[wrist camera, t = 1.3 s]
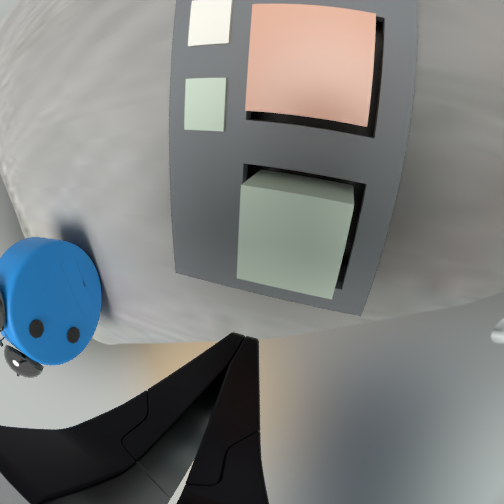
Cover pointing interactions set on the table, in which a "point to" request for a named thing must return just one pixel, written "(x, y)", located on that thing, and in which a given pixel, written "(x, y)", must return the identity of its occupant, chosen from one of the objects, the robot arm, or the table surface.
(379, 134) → the console
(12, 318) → the alarm clock
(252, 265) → the sage key
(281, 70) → the terracotta key
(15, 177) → the table surface
